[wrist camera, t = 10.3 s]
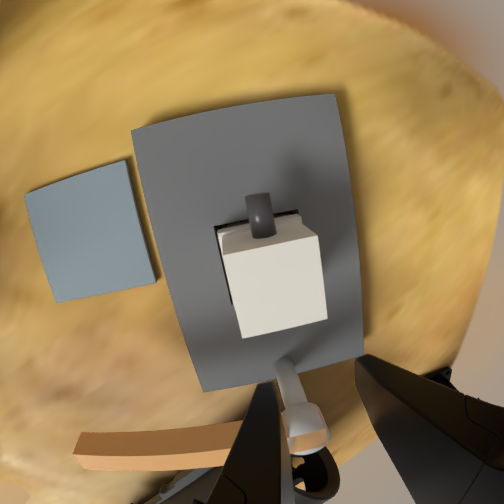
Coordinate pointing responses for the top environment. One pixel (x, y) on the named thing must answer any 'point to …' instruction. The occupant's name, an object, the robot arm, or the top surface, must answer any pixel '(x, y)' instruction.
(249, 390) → the top surface
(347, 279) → the socket block
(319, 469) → the muzzle brake
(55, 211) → the mat
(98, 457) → the tan wooden bar
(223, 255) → the plug
